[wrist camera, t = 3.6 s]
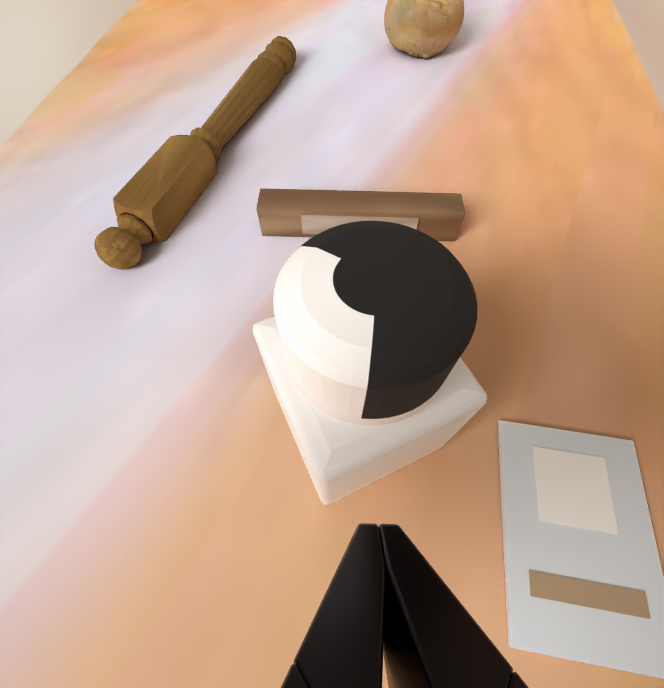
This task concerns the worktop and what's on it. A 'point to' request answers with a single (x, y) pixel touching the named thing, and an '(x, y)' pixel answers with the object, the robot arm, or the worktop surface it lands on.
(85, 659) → the worktop surface
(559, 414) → the worktop surface
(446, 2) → the onion
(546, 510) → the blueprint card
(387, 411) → the medicine bottle
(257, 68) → the tap handle
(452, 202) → the stop bar
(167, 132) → the worktop surface
